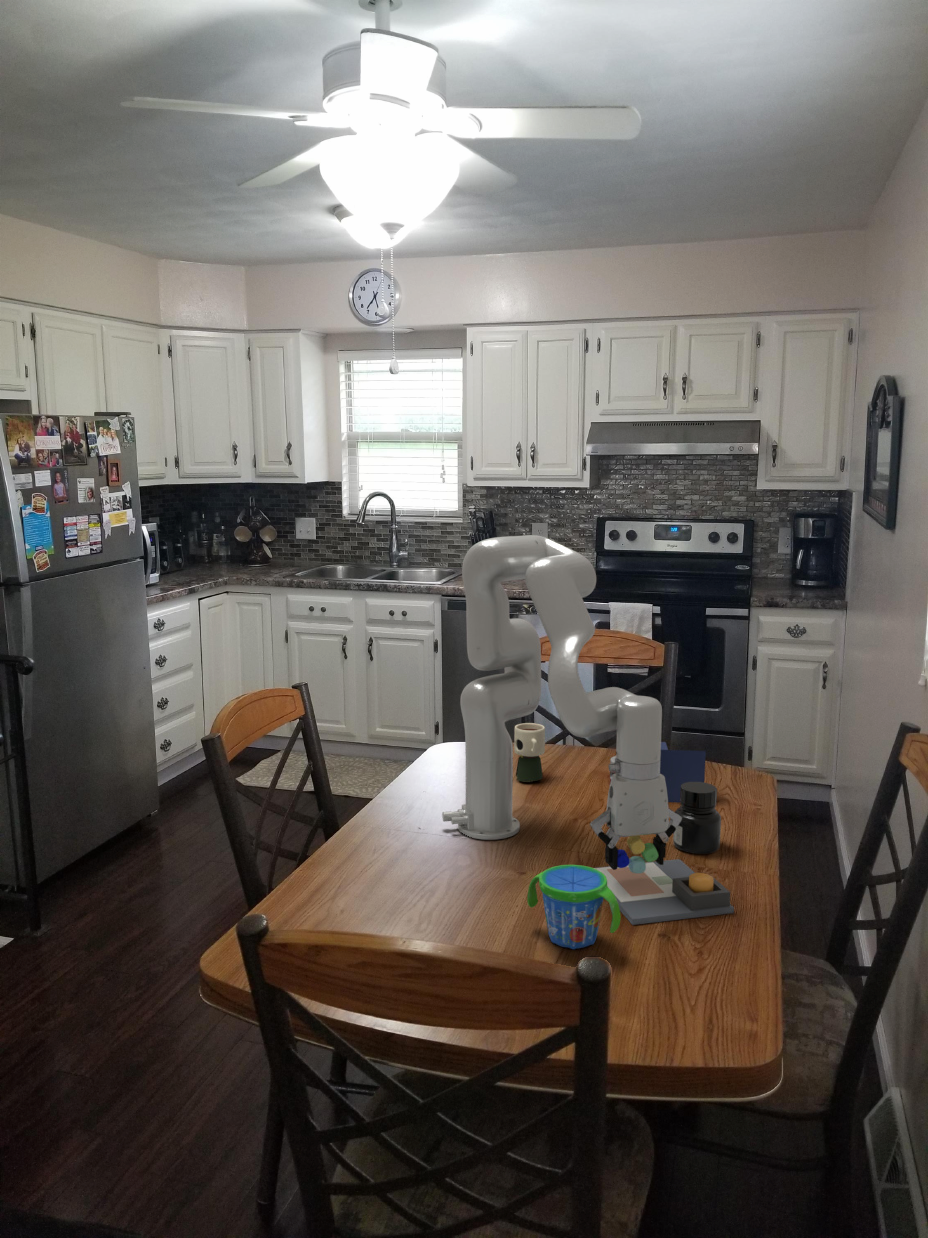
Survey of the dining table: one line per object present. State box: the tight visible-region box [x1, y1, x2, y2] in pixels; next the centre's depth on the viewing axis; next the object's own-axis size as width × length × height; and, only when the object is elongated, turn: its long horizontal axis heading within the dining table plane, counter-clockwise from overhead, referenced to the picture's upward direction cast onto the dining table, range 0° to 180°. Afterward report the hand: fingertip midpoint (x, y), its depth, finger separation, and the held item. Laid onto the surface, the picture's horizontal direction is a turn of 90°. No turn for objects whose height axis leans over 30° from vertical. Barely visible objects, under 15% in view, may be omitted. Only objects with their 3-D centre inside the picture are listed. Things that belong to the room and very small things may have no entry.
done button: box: [689, 872, 715, 893], centre depth 160 cm, size 4×4×2 cm
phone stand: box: [660, 741, 707, 804], centre depth 214 cm, size 12×12×12 cm
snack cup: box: [526, 864, 622, 950], centre depth 148 cm, size 16×10×10 cm
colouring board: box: [593, 858, 735, 926], centre depth 165 cm, size 18×20×4 cm
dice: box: [618, 835, 659, 874], centre depth 166 cm, size 8×3×6 cm, turn 98°
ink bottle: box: [672, 781, 722, 855], centre depth 184 cm, size 10×9×12 cm
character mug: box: [513, 722, 546, 783], centre depth 222 cm, size 11×7×13 cm, turn 10°
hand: (635, 863), depth 166 cm, fingers closed on dice, 8 cm apart
